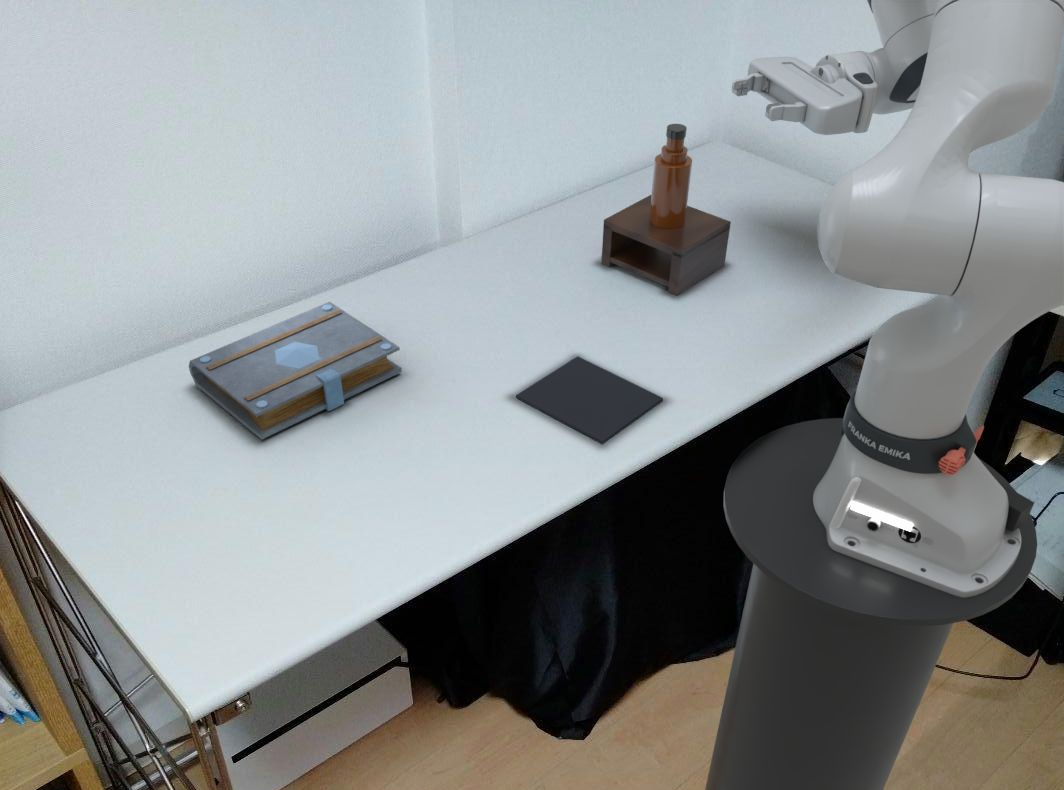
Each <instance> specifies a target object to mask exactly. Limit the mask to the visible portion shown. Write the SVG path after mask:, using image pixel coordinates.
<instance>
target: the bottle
mask: <svg viewBox="0 0 1064 790" xmlns="http://www.w3.org/2000/svg"><path fill="white" fill-rule="evenodd" d="M687 129H688V128H687V126H686V125H684V124H681V123H670V124H667V126H666V132H665V136H666V141H665V142H666V144H665V145H663V146H661V149H660V153H659V154H657V155H656V156H655V157H654V161H653V163H654V164H653V175H652V185H651V187H652V188H651V194H652V196H651V207H650V218H649V220H650V222H651V224H653V225H654V226H656V227H660V228H665V229H673V228H678V227H681V226H683V225H684V224H685V220H686V211H687V206H688V202H689V195H690V193H689V192H690V186H691V185H690V184H691V175H692V169H693V168H692V167H693V159H692V157H691V156H689V155H688V148H687V147H686V146H685V138H686V137H687Z"/></svg>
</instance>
